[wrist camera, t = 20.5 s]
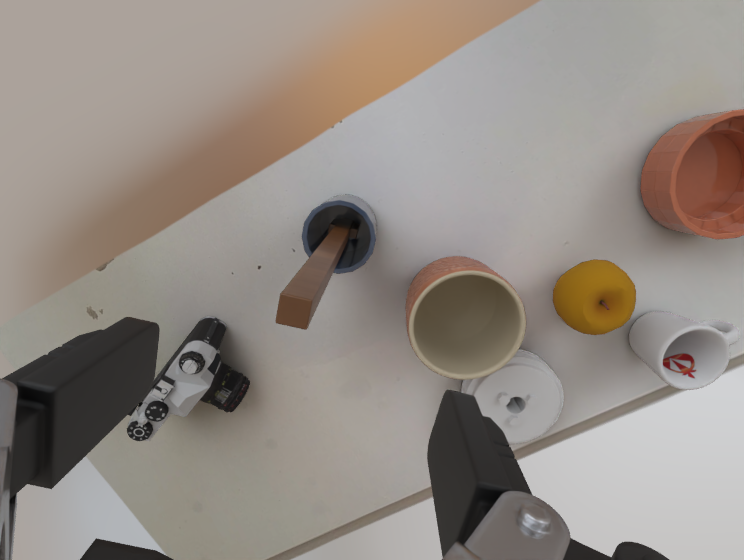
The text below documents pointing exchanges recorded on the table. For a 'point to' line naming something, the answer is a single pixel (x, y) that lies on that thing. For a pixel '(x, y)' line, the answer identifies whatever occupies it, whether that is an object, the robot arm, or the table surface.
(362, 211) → the crock
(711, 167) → the bowl
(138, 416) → the camera
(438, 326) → the planter
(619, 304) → the apple
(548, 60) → the table surface
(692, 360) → the cup
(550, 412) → the white thick round disc
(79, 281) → the table surface
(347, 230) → the stick
